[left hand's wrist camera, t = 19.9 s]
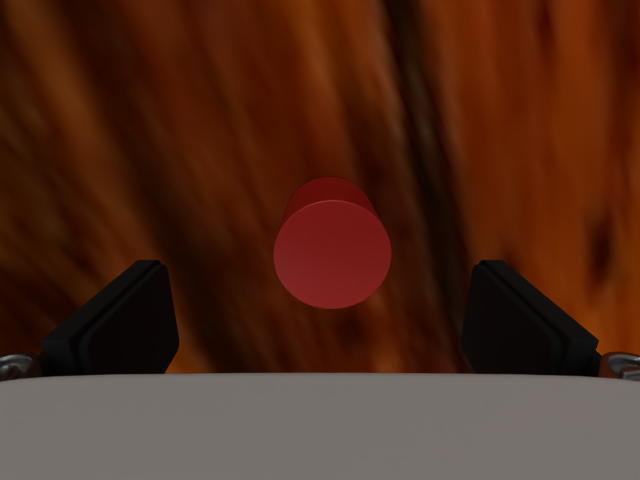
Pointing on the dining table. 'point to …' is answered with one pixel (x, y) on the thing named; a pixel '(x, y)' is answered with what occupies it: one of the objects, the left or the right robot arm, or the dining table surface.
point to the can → (331, 245)
